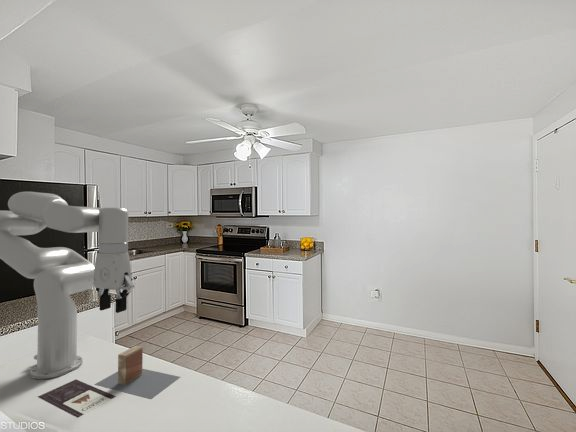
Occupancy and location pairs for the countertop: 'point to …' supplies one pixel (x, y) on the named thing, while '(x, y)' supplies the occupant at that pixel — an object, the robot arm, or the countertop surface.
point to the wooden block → (130, 364)
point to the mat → (141, 383)
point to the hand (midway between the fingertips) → (113, 309)
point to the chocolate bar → (76, 397)
